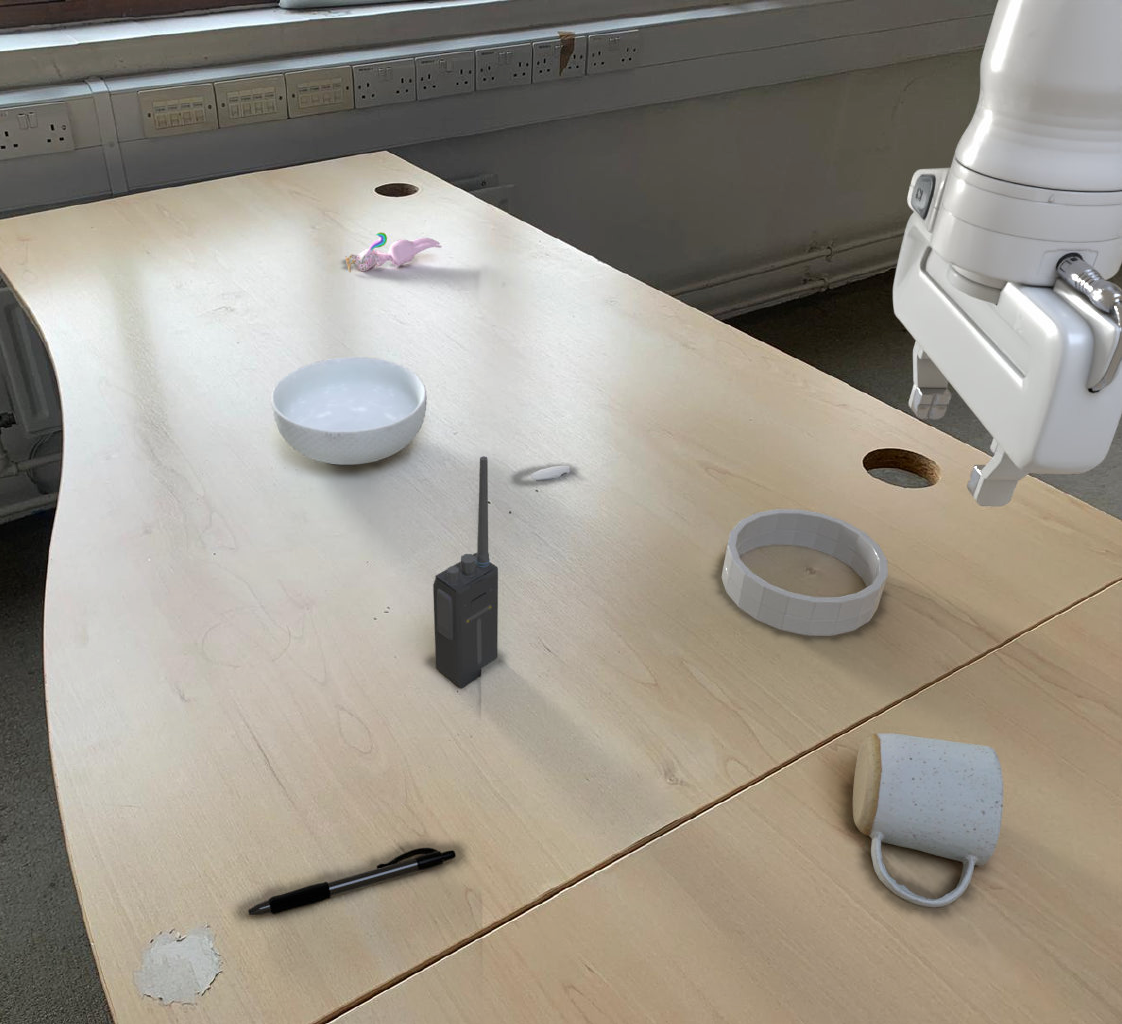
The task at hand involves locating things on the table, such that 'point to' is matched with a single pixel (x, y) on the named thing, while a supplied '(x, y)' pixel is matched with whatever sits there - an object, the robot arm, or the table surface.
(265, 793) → the table surface
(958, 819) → the ceramic mug
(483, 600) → the walkie-talkie
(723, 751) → the table surface
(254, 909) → the pen
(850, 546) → the gray band ring
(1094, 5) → the robot arm
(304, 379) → the cereal bowl
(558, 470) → the white elongated flat piece
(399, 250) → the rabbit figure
